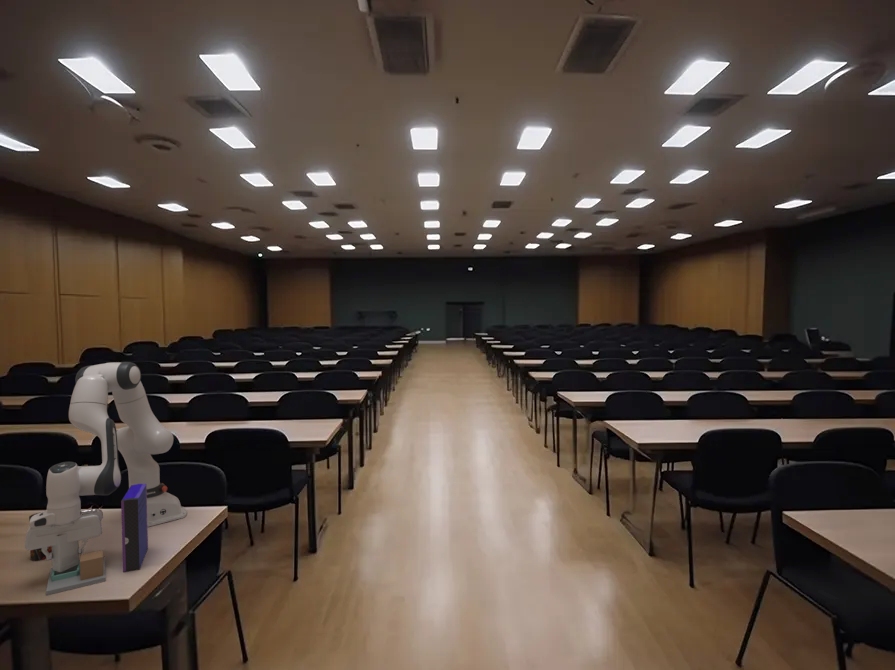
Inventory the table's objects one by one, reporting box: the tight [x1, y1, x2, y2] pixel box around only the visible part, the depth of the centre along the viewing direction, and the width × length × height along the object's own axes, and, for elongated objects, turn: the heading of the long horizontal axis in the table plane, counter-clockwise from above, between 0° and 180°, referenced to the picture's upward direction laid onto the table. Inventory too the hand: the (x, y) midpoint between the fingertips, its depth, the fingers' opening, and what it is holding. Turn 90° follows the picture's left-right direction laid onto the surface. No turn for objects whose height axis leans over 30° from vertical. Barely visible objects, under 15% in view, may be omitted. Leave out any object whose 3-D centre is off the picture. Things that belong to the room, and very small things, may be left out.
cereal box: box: [120, 484, 149, 573], centre depth 181 cm, size 17×5×24 cm, turn 22°
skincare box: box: [51, 533, 80, 572], centre depth 170 cm, size 6×4×12 cm
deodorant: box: [28, 511, 52, 562], centre depth 183 cm, size 6×6×15 cm
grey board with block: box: [45, 549, 106, 596], centre depth 170 cm, size 15×18×7 cm
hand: (65, 556), depth 169 cm, fingers closed on skincare box, 7 cm apart
